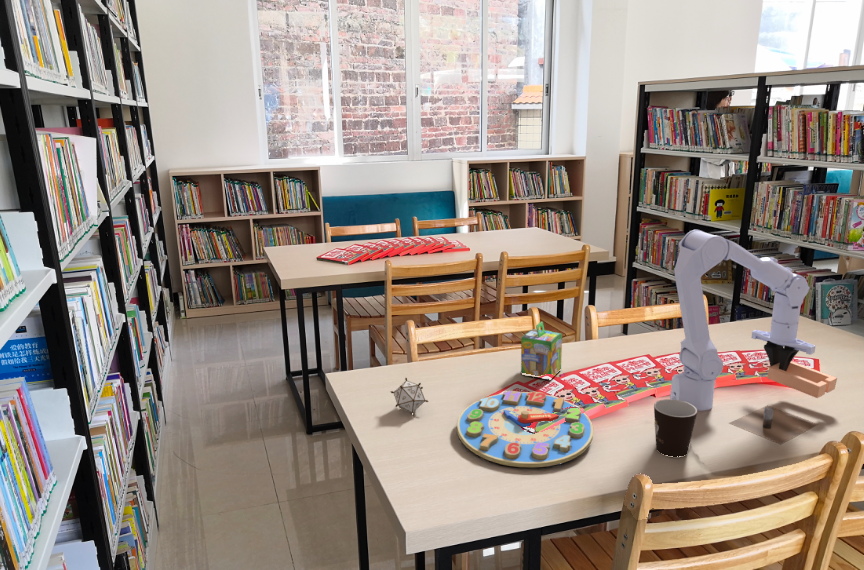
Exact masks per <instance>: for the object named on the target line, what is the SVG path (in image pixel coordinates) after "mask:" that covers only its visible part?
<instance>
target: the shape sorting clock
mask: <svg viewBox="0 0 864 570" xmlns="http://www.w3.org/2000/svg"><path fill="white" fill-rule="evenodd" d="M570 406H571V407H573V406H576V405H575V404H573V403H571V402H570V401H567V400H565V398H564V397H557V396H553V395H549V394H546V393H545V392H541V391H529V392H528V391H514V390H507V391H503V393H498V394H494V395H490V396H485V397H483V398H480V399H479V400H476V401H474V402H472V403H471V404H469V405H468V406H467V407H465V408H464V409H463V410H462V412H461V413H460V414H459V416H458V419H457V423H456V425H457V426H456V429H457V434H458V438H459V439H460V441H461V443H462V444H463V445H464V447H466V448H467V449H468V450H469V451H471V452H472V453H474V454H475V455H477V456H479V457H480V458H482V459H485V460H487V461H490V462H492V463H497V464H499V465H503V466H509V467H518V468H544V467H550V466H555V465H561V464H560V463H562V464H564V463H567V462H569V461H571V460H572V461H573V460H574V459H576V458H578V457H579V456H580V455H582V454H583V453H585V451H586V450H587V449H588V448H589V446H590V445H591V443H592V441H593V438H594V426H593V423H592V421H591V419H590V417H589V416H588V415H587V414H586V413H585V412H584V413H582V414H581V411H580V409H581V408H579V407H578V408H579V409H578V408H570V409H568V410H567V414H568V415H566V416H565V421H566V422H564V423H562V424H559V425H557V426H554V427H553V428H550V429H548V430H545V431H543V432H539V433H535V434H532V433H529V432H525V431H524V430H522V428H521V427H526V426H530V425H531V423H533V422H541V421H553V420H556V419H558V418H559V415H557V414H552V413H554V412H561V409H562V408H563V409H565V408H567V407H568V408H569V407H570ZM553 411H554V412H553ZM518 425H519V426H518ZM520 426H521V427H520Z"/></svg>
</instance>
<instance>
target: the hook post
mask: <svg viewBox="0 0 864 570" xmlns="http://www.w3.org/2000/svg"><path fill="white" fill-rule="evenodd" d="M764 407H765V406H764ZM770 407H771V406H770ZM770 407H765V410H764V418H763V427H764V428H766V429H771V427H772V419H773V411H774V409H773V408H774V407H773V408H770Z"/></svg>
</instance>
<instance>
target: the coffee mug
mask: <svg viewBox="0 0 864 570" xmlns="http://www.w3.org/2000/svg"><path fill="white" fill-rule="evenodd" d="M653 408H654V409H653V413H654V432H655V449H656V450H658V451H659V452H660V453H659V452H658V451H657V452H658V453H659V454H661V453H662V454H664V455H663V456H665V455H668V456H673V457H677V456H678V457H679V456H684V455H686V454H687V455H688V452H689V450H690V449H689V448H690V444H691V440H692V435H693V431H694V426H695V423H696V418H697V415H698V414H697V413H698V410H697V409H696V408H695V407H694V406H693V405H691V404H690V403H687V402H684V401H680V400H674V399H670V398H666V399H660V400H656V401H655V402H654V404H653ZM662 454H661V455H662ZM687 455H686V456H687ZM668 456H667V457H668ZM673 457H672V458H673ZM684 457H685V456H684Z"/></svg>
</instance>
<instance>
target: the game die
mask: <svg viewBox="0 0 864 570" xmlns="http://www.w3.org/2000/svg"><path fill="white" fill-rule="evenodd" d="M404 380H405V381H404V382H403V383H401V385H399V387H398V388H396V390H394V391H393V390H391V391H390V393H391V394H393V396H394V399H395V402H396V404H395V408H397V407H398V408H401V409H400V410H404V411H406V412H408V413H411V414H412V413H413V414H414V413H415V412H416V410H418V409H419V408H420V407H421V406H422V405H424V404H423V403H425V402H426V403H428V402H429V400H428V399H426V398H425V396H424V393H423V391H422V390H423V388H424V387H423V386H421V385H422V383H421V382H419V383H418V384H417V383H414V382H412V381H409V380H408V378H407V377H405V378H404Z"/></svg>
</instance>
